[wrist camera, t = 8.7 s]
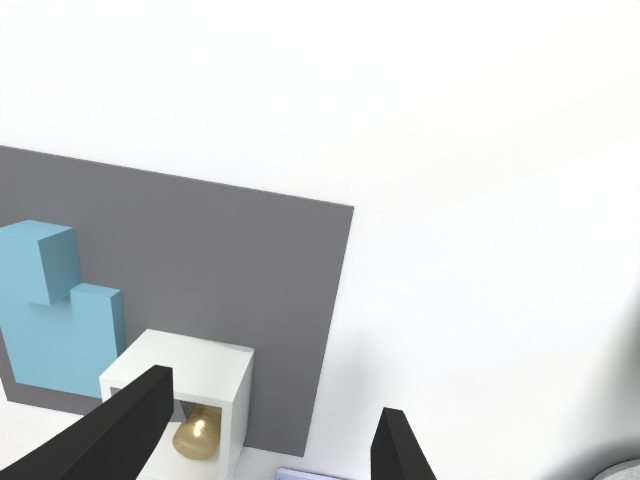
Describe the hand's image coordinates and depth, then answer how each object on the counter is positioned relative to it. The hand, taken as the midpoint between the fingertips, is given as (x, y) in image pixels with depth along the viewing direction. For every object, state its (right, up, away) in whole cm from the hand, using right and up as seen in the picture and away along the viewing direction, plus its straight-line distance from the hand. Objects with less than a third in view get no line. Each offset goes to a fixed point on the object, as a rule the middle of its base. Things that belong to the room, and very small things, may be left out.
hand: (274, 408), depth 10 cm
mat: (-11, 0, +12) cm, 16 cm away
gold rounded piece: (-7, -7, +13) cm, 17 cm away
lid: (-17, 0, +12) cm, 21 cm away
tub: (-8, -6, +13) cm, 16 cm away
